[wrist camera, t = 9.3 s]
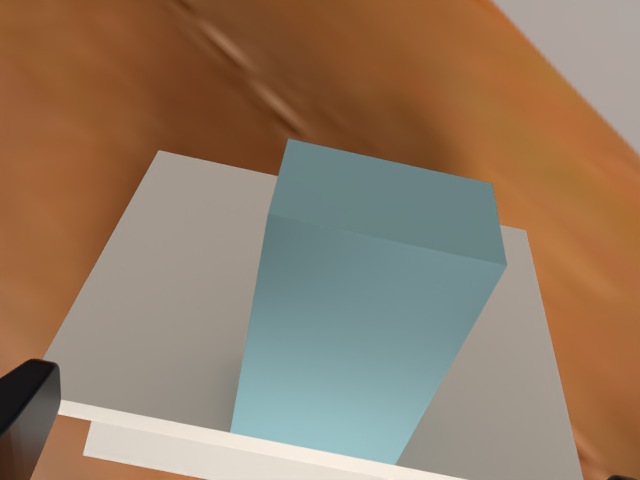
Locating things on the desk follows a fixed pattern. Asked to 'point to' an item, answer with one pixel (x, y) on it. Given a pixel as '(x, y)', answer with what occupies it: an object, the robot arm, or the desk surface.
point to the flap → (322, 321)
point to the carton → (201, 457)
